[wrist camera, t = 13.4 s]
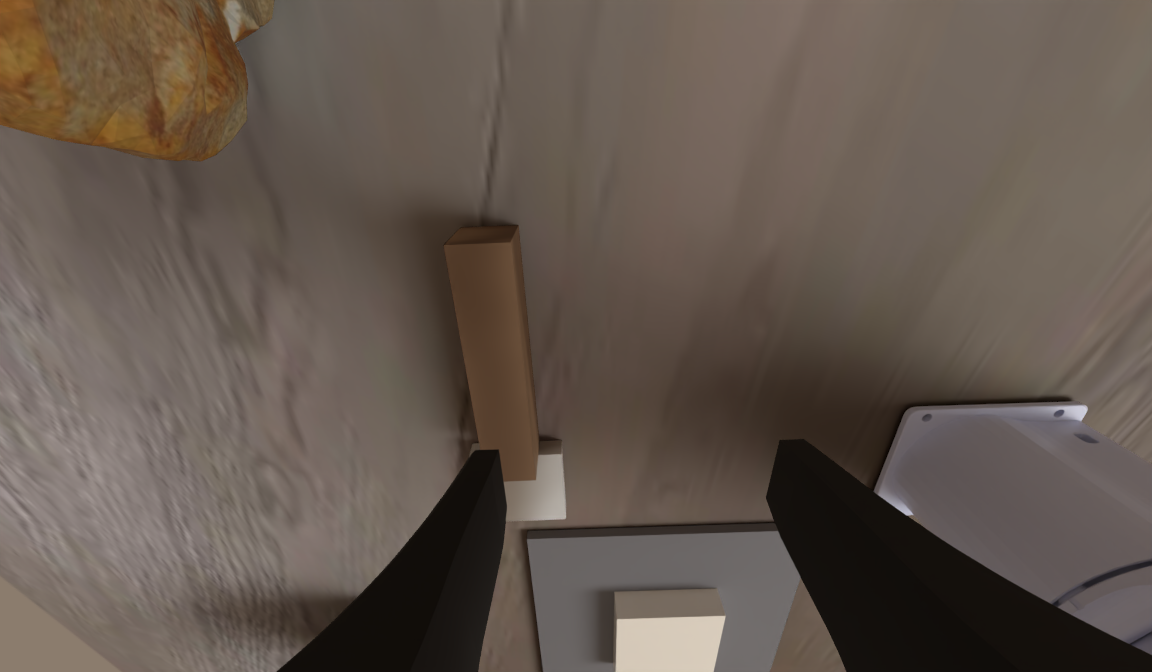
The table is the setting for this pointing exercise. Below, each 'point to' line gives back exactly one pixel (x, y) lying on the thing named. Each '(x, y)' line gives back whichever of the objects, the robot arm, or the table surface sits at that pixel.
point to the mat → (659, 587)
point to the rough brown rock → (128, 72)
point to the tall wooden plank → (503, 368)
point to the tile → (667, 630)
